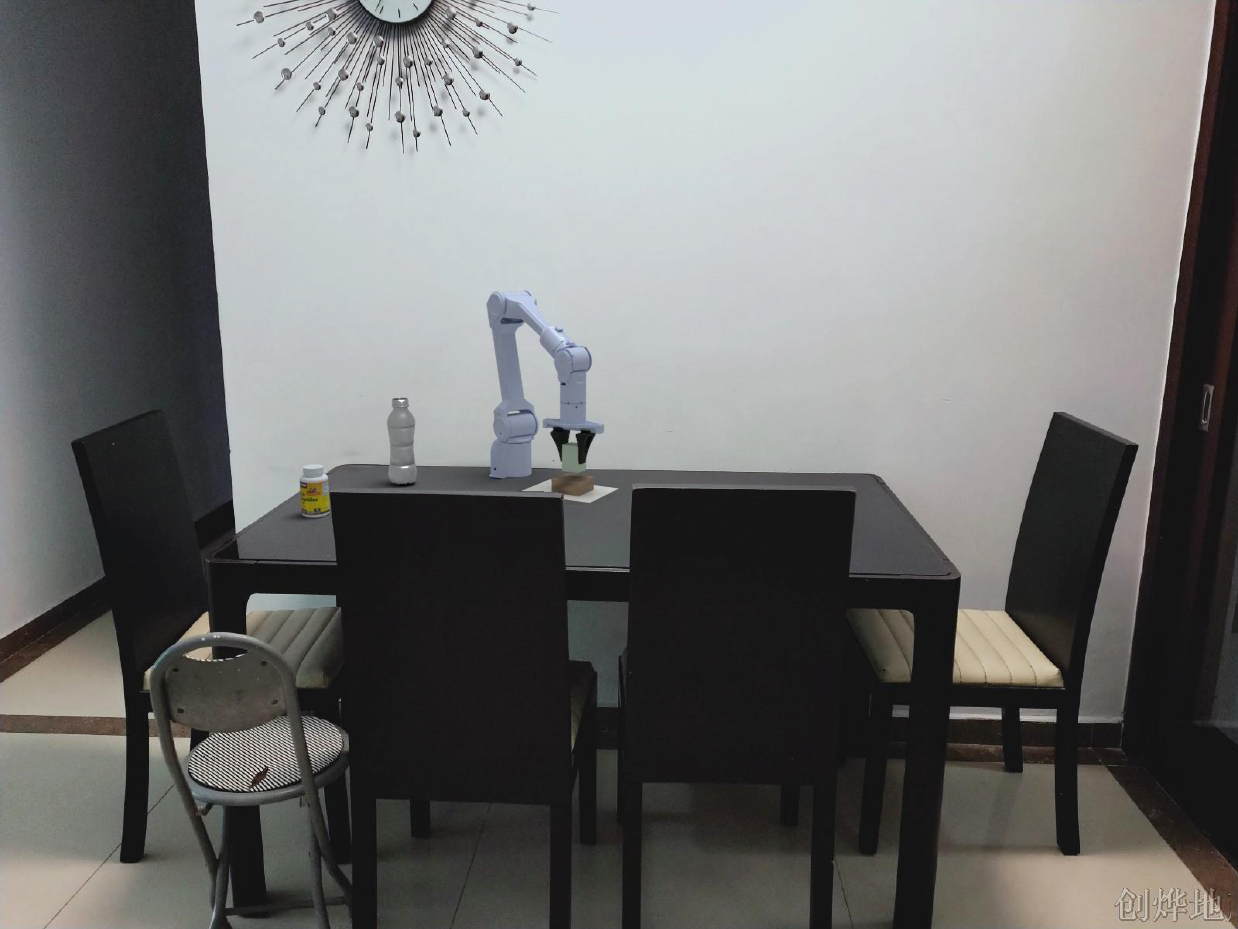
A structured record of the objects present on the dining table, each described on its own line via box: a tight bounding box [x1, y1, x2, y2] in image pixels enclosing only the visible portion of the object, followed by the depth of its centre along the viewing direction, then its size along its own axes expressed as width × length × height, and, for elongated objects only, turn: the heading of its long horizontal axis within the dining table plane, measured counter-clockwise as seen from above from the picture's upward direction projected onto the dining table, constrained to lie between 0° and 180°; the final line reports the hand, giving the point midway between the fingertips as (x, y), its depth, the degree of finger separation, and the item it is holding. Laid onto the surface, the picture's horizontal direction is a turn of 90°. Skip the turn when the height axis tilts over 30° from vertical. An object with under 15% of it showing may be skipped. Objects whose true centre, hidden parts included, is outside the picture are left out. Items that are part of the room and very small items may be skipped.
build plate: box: [522, 478, 619, 504], centre depth 213 cm, size 18×14×1 cm
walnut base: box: [550, 472, 595, 496], centre depth 212 cm, size 7×7×3 cm
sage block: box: [561, 441, 587, 474], centre depth 211 cm, size 4×4×6 cm
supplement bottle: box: [299, 463, 331, 519], centre depth 193 cm, size 6×6×10 cm
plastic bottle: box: [386, 397, 418, 485], centre depth 217 cm, size 6×7×20 cm
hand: (572, 462), depth 211 cm, fingers closed on sage block, 4 cm apart
